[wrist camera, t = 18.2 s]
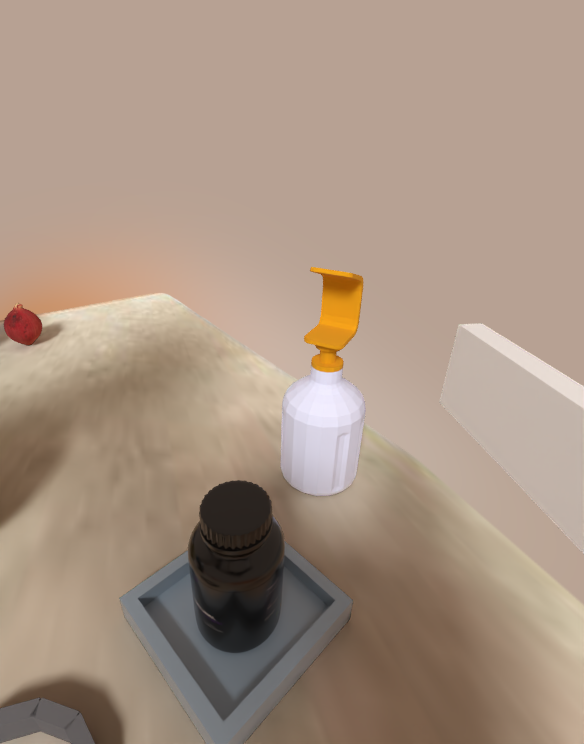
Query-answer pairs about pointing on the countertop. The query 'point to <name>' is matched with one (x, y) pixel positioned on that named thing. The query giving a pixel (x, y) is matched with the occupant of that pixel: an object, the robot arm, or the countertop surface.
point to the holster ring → (43, 721)
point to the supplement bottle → (236, 567)
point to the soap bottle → (325, 398)
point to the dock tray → (234, 670)
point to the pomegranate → (22, 325)
